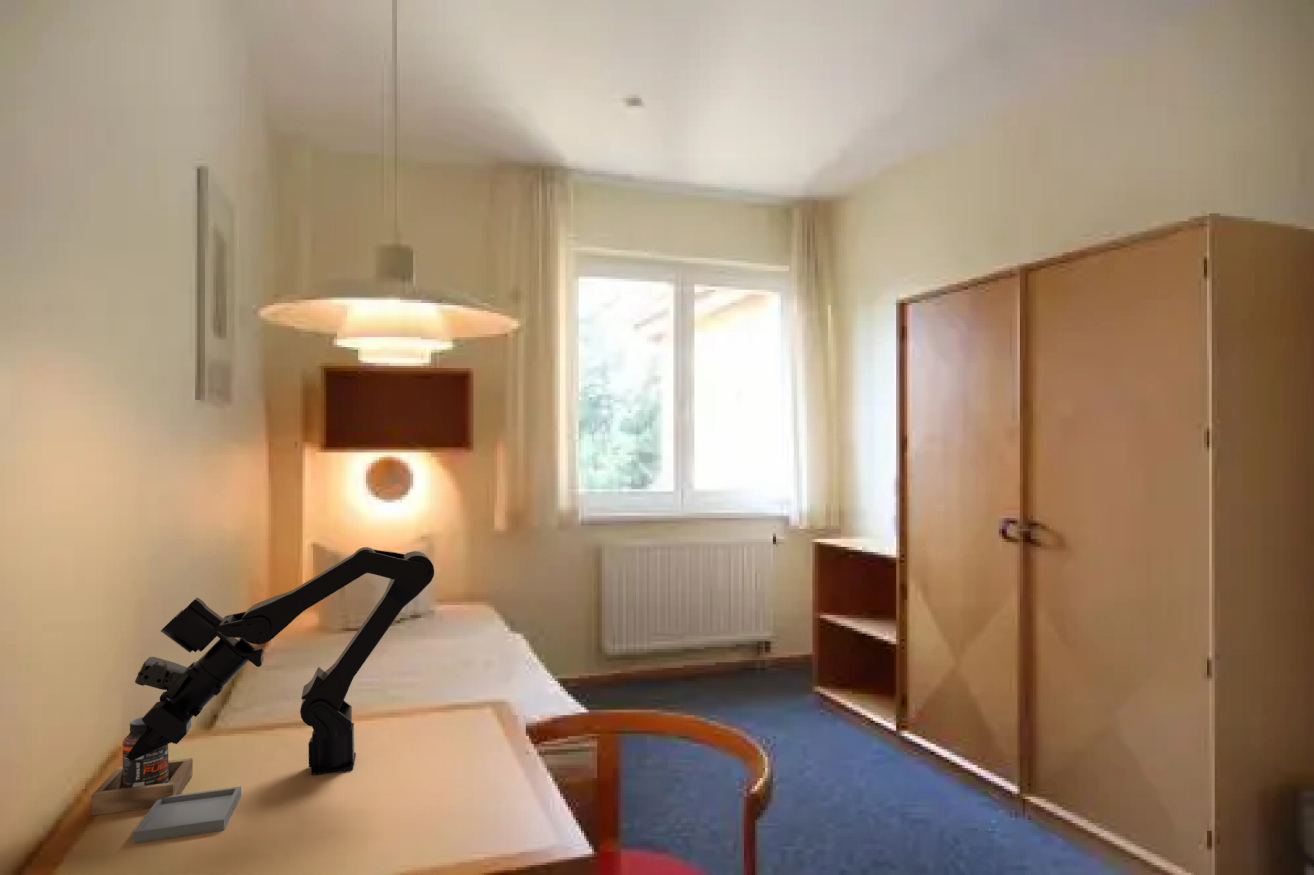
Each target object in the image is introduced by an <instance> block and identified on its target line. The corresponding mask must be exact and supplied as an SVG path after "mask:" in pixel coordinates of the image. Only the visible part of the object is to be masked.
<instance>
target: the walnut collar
mask: <svg viewBox="0 0 1314 875" xmlns="http://www.w3.org/2000/svg"><path fill="white" fill-rule="evenodd" d="M193 758H194V757H189V758H188V757H187V758H178V759H172V760H168V762H169V763H168V771H169V775H168V779H169V781H168V783H163V784H155V785H147V786H139V787H131V788H123V765H121V766H117V767H116V768H115V770H114V771H113V772H112V773H111V774H110V775H109V776H108V777H107V778H106V779H105V780H104V781H103V782H102V783H101V785H99V787H98V788H97V789H96V790H95V791H94V792H92V794H91V816H92V815H93V816H100V815H107V814H113V813H121V812H128V811H136V810H137V811H138V810H143V809H149V808H150V809H151V808H152V806H153V805H154V804H155V802H156V801H157V800H158V798H159V797H164V796H171V795H179V794H183V791H184V790H185V788H186V787H187V785H188V784H189V783H190V781H191V780H192V778H193V777H192V776H194V774H193V773H194V772H193V771H194V767H193V761H194V759H193ZM190 779H191V780H190ZM185 786H186V787H185Z"/></svg>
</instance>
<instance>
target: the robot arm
mask: <svg viewBox="0 0 1314 875" xmlns="http://www.w3.org/2000/svg"><path fill="white" fill-rule="evenodd" d="M366 574H370V575H374V576H379V577H383V578H386V579H389V582H388V584H387V586H386V588H385V591H384V593H383V594H382V597H381V598H380V599H379V601H378V602H377V603H376V605H375V606H374V608H373V609H372V610H371V612H370V613H369V614H368V616H367V617H366V619H365V620H364V622H363V623H362V624H361V625H360V626H359V629H358V630H357V631H356V633H355V634H354V636H353V637H352V639H351V640H350V641H349V643H348V644H347V646H345V648H344V650H343V651H342V652H341V654H340V655H339V657H337V659H336V661H335V662H334V663H333V664H332V665H331V666H330V667H329V668H327V669H326V670H324V669H322V668H321V667H320V666H319V667H317V668H316V669H315V670H316V671H315V673H314V674H313V677H312V678H311V679H310V680H309V681H308V683H306V684H305V685H304V686H303V689H302V692H301V693H302V694H301V700H302V701H301V705H300V710H299V714H300V718H301V720H302V721H303V723H304V724H306V725H307V726H309V727H312V729H313V731H312V733H311V737H310V738H309V742H308V743H307V744H308V745H307V746H308V767H309V768H311V769H310V775H314V776H315V775H319V774H328V773H335V772H344V771H350V770H353V769H354V766H355V762H356V757H357V753H356V752H355V723H354V722H353V721H352V720H353V718H352V717H353V715H352V714H353V712H352V711H353V709H352V708H353V707H352V705H350V704H349V703H348V702H347V701H345V700H346V699H345V698H346V697H347V694H348V691H349V689H350V686H351V685H352V682H353V680H354V678H355V676H356V675H357V673H359V671H360V669H361V668H362V666H363V665H364V663H366V661H367V659H368V658H369V657H370V655H372V652H373V651H374V649H375V648H376V647H377V646H378V644H379V642H380V641H381V639H382V638H383V637H384V635H386V633H387V631H388V629H389V628H390V627H391V625H392V624H393V623H394V621H395V620H396V619H397V617H398V616H399V614H400V613H401V611H402V610H403V608H404V607H405V606H407V605H408V604H409V603H410V602H413V600H414V599H416V598H417V597H418V596H419V595H420V594H421V592H423V591H424V590H425V588H426V587H427V586H429V584H431V582H432V581H433V578H434V576H435V568H434V564H433V562H432V561H431V560H430V558H429V557H428V556H427V555H426V553H423V552H421V551H416V550H414V551H409V552H406V553H399V552H395V551H387V550H381V549H374V548H372V547H369V546H364V547H361V548H358V549H357V550H356V551H355V552H353V553H352V554H351V555H349V556H348V557H345V559H342V560H341V561H339V562H337V563H336V564H334V565H333V566H330V567H329V568H327V569H325V570H324V571H322V572H321V573H320V574H317V575H316V576H314V577H312V578H310V579H309V580H307V581H306V582H304V583H302V584H300V585H298V586H296V587H295V588H294V589H291V590H289V591H287V592H284V593H280V594H277V595H274V596H272V597H269V598H266V599H264V600H261V601H260V602H257V603H255V604H252V605H251V606H250V607H249V608H248V609H247V610H245V611H242V612H237V613H234V614H233V613H232V614H228V615H225V616H223V617H222V616H221V615H219V614H218V613H216V612H215V611H214V610H213V609H212V608H210V607H209V606H208V605H207V604H206V602H204V600H202V599H200V598H199V597H196V598H194V599H193V600H192V601H191V602H190V604H188V605H187V606H186V607H185V608H184V609H181V610H180V611H179V612H178V613H177V614H176V615H175V616H174V617H173V618H171V620H170V621H169V622H168V623H167V624H166V625H165V626H164V627H163V628H162V629H161V630H160V632H161V633H162V634H163V635H165V636H166V637H167V638H169V639H170V640H171V641H173V642H175V644H177V645H178V646H180V647H181V648H182V649H184V650H185V651H187V653H189V654H190V653H192V652H194V653H196V652H198V651H199V652H200V653H201V652H203V651H204V650H205V649H206V648H207V647H208V646H209V645H210V644H211V643H212V642H213V641H214V640H215V639H216V637H218V640H217V641H216V642H215V643H214V644H213V645H212V646H211V647H210V648H209V649H208V651H206V652H205V653H203V655H202V656H201V657H200V659H199V660H196V662H195V661H193V662H191V664H190V665H188V667H187V666H184V665H181V664H180V663H176V662H174V661H169V660H166V659H163V658H161V657H156V656H149V657H148V658H147V659H146V660H144V662H143V664H142V666H141V668H140V670H139V671H138V673H137V676H136V679H135V680H134V683H135V684H136V685H139V686H142V687H144V686H148V687H151V688H155V689H158V690H162V691H163V692H162V694H161V695H160V696H159V701H157V702H155V704H154V705H153V706H151V708H150V709H148V711H147V712H146V713H145V714H144V716H142V717H143V718H142V721H143V722H144V723H145V725H146V729H145V730H144V732H143V733H142V735H141V736H140V738H139V739H138V740H137V742H136V743H135V745H134V746H133V748H132V749H131V751H130V752H129V753H128V755H127V758H128V759H129V760H131V761H133V760H135V759H137V758H139V757H141V756H144V755H146V754H148V753H150V752H152V751H154V750H156V749H158V748H160V747H162V746H165V745H167V744H168V745H169V744H171V743H172V744H175V745H178V743H180V741H181V740H182V739H183V738H184V737H185V736H187V734H188V733H189V731H190V729H191V727H192V719H193V717H195V718H197V717H198V716H199V714H200V713H201V712H202V711H203V709H204V707H205V706H207V705H208V703H209V702H210V701H211V700H212V699H213V698H214V697H215V696H218V695H219V694H220V693H221V692H222V690H223V688H224V687H225V686H226V685H227V684H228V683H229V682H230V681H231V679H233V677H235V676H236V675H237V674H238V673H239V671H240V670H241V669H243V668H244V667H245V665H246V664H247V663H248V662H250V663H251V664H252V665H253V666H256V667H258V668H259V667H262V665H263V662H264V650H265V647H264V646H263V645H265V643H268V642H270V641H271V640H273V639H274V638H275V637H276V636H278V634H279V633H281V632H282V631H283V630H285V629H286V628H287V627H288V626H289V625H290V624H291V623H292V622H294V620H295V619H297V617H299V616H300V615H301V614H302V613H303V612H305V611H307V610H308V609H309V608H311V607H312V606H315V605H316V604H318V603H320V602H321V601H322V600H324V599H326V598H328V597H330V596H331V595H333V594H334V593H336V592H338V591H339V590H341V589H343V588H344V587H346V586H347V585H349V584H351V583H352V582H354V581H356V580H357V579H359V578H361V577H362V576H363V575H366ZM237 638H238V639H237ZM254 645H258V646H254ZM259 645H262V646H259Z"/></svg>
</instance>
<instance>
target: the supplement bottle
mask: <svg viewBox="0 0 1314 875" xmlns="http://www.w3.org/2000/svg"><path fill="white" fill-rule="evenodd" d="M143 717H144V716H142V717H137V718H135V719H133V720H131V721H130V722H129V733H128V735H126V737H124V739H123V740H122V766H123V788H131V787H139V786H147V785H155V784H163V783H168V781H169V779H168V775H169V771H168V763H169V762H168V761H169V744H167V745H165V746H162V747H160V748H158V749H156V750H154V751H152V752H150V753H148V754H146V755H144V756H141V757H139V758H137V759H135V760H133V761H131V760H129V759H128V758H127V755H128V753H129V752H130V751H131V749H132V748H133V746H134V745H135V743H136V742H137V740H138V739H139V738H140V736H141V735H142V733H143V732H144V730H145V729H146V725H145V723H144V722H143V721H142V718H143ZM123 788H122V789H123Z"/></svg>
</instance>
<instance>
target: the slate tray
mask: <svg viewBox="0 0 1314 875" xmlns="http://www.w3.org/2000/svg"><path fill="white" fill-rule="evenodd" d="M241 797H242V786H241V785H240V786H233V787H226V788H217V789H211V790H210V789H209V790H202V791H196V792H195V791H194V792H189V793H188V792H187V793H181V794H179V795H171V796H164V797H159V798H158V800H157V801H156V802H155V804H154V805H153V806H152V808H150V809H149V810H148V812H147V813H146V815H145V816H144V817H143V819H142V820H141V821H140V822H139V823H138V826H136V828H135V829H134V830H133V834H132V835H133V844H136V843H137V844H138V843H145V842H152V841H159V840H164V839H171V837H172V838H177V837H178V838H179V837H185V836H192V835H199V834H207V833H213V832H219V831H224V830H225V829H226V827H227V825H228V823H229V821H230V819H231V817H232V815H233V812H234V811H235V809H236V807H237V805H238V803H239V801H240V799H241ZM206 832H207V833H206Z"/></svg>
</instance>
